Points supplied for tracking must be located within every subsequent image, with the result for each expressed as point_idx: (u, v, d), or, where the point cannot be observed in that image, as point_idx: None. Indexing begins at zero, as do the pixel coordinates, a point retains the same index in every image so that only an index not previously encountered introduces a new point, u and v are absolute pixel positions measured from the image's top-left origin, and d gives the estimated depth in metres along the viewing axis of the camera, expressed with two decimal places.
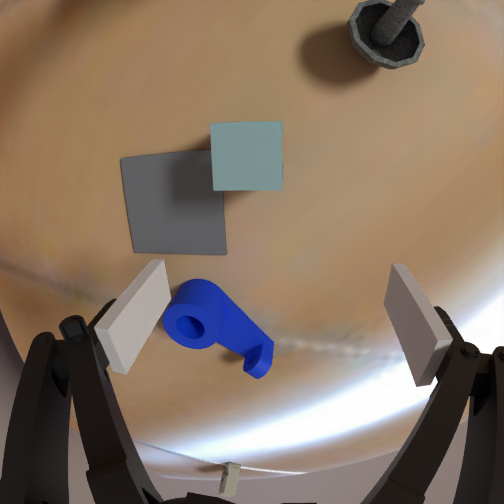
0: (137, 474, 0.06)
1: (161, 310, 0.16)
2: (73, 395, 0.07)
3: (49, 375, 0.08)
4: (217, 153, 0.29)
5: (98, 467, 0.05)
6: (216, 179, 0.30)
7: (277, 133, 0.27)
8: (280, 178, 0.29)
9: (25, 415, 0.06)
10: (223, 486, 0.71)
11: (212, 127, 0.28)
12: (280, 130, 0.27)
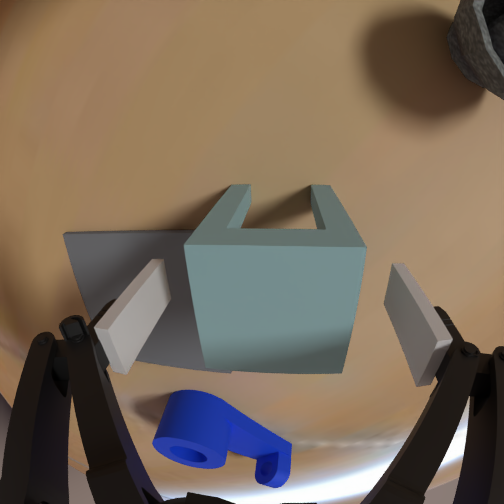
0: (137, 474, 0.06)
1: (161, 310, 0.16)
2: (73, 395, 0.07)
3: (49, 375, 0.08)
4: (208, 311, 0.13)
5: (98, 467, 0.05)
6: (209, 353, 0.14)
7: (352, 276, 0.11)
8: (342, 356, 0.13)
9: (25, 414, 0.06)
10: None
11: (190, 254, 0.12)
12: (360, 269, 0.11)
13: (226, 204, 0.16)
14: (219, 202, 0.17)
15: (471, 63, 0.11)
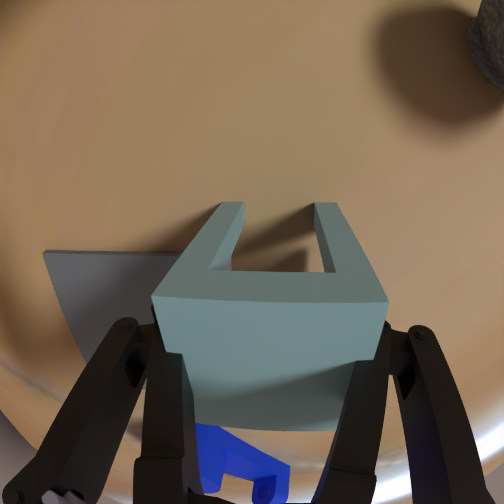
0: (189, 472, 0.06)
1: None
2: (148, 378, 0.08)
3: (122, 365, 0.09)
4: (187, 369, 0.10)
5: (150, 458, 0.06)
6: None
7: (368, 335, 0.08)
8: None
9: (82, 402, 0.07)
10: None
11: (160, 307, 0.09)
12: (379, 327, 0.08)
13: (212, 231, 0.14)
14: (203, 228, 0.14)
15: (498, 64, 0.09)
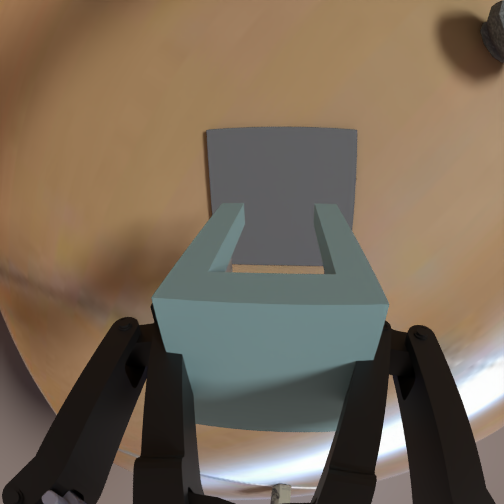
0: (189, 473, 0.06)
1: None
2: (148, 378, 0.08)
3: (123, 365, 0.09)
4: (187, 371, 0.10)
5: (150, 458, 0.06)
6: None
7: (368, 337, 0.08)
8: None
9: (82, 402, 0.07)
10: None
11: (160, 309, 0.09)
12: (379, 329, 0.08)
13: (212, 232, 0.14)
14: (204, 229, 0.14)
15: (497, 45, 0.16)
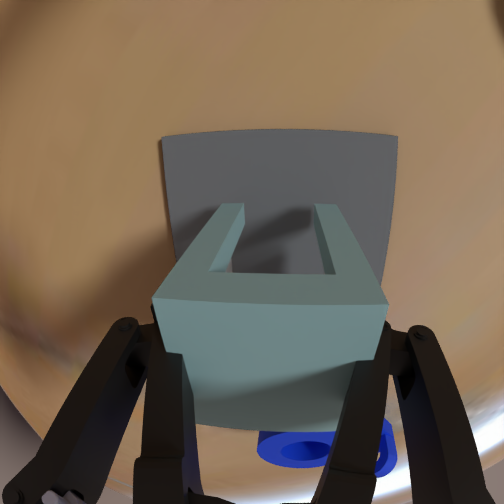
0: (189, 472, 0.06)
1: None
2: (148, 378, 0.08)
3: (122, 365, 0.09)
4: (188, 371, 0.10)
5: (150, 458, 0.06)
6: None
7: (368, 337, 0.08)
8: None
9: (82, 402, 0.07)
10: None
11: (161, 309, 0.09)
12: (379, 329, 0.08)
13: (212, 233, 0.14)
14: (204, 229, 0.14)
15: None
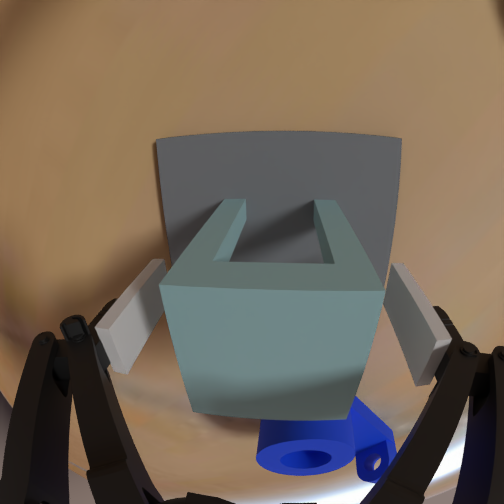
0: (138, 474, 0.06)
1: (162, 310, 0.16)
2: (74, 395, 0.07)
3: (50, 375, 0.08)
4: (192, 358, 0.10)
5: (99, 467, 0.05)
6: (196, 398, 0.12)
7: (366, 323, 0.09)
8: (348, 404, 0.11)
9: (25, 414, 0.06)
10: None
11: (167, 296, 0.09)
12: (376, 315, 0.09)
13: (216, 226, 0.14)
14: (207, 223, 0.15)
15: None
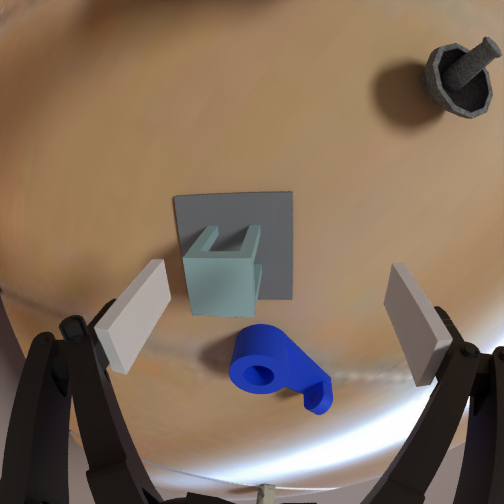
0: (137, 474, 0.06)
1: (161, 310, 0.16)
2: (73, 395, 0.07)
3: (49, 375, 0.08)
4: (192, 285, 0.31)
5: (98, 467, 0.05)
6: (193, 306, 0.32)
7: (247, 269, 0.30)
8: (252, 307, 0.31)
9: (24, 414, 0.06)
10: None
11: (185, 261, 0.30)
12: (250, 266, 0.29)
13: (202, 239, 0.35)
14: (199, 238, 0.35)
15: (432, 95, 0.26)
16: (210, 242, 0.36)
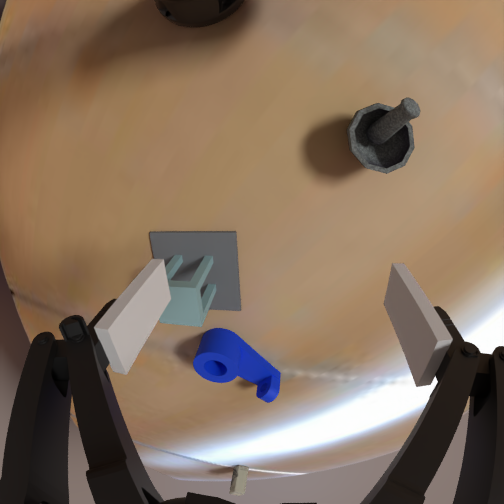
0: (137, 474, 0.06)
1: (161, 310, 0.16)
2: (73, 395, 0.07)
3: (49, 375, 0.08)
4: None
5: (98, 467, 0.05)
6: (160, 317, 0.45)
7: (193, 295, 0.42)
8: (199, 320, 0.44)
9: (25, 415, 0.06)
10: (233, 486, 0.81)
11: None
12: (195, 293, 0.42)
13: (167, 268, 0.47)
14: (165, 267, 0.48)
15: None
16: (174, 270, 0.48)
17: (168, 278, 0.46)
